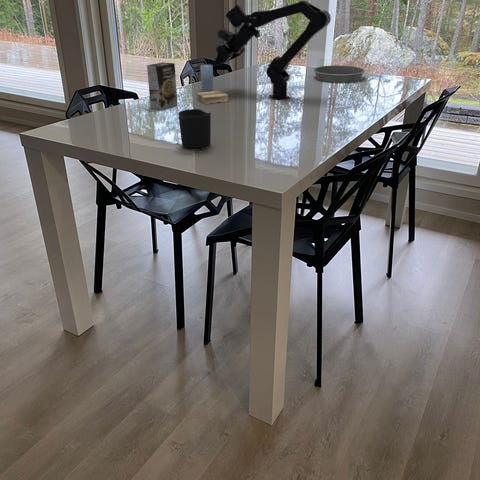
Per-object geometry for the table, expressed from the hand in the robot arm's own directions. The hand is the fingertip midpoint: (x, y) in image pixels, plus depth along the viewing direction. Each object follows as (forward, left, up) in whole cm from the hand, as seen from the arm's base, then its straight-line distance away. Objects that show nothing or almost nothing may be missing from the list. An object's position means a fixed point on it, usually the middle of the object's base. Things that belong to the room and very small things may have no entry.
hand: (218, 64), depth 205 cm
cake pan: (+3, -64, -12) cm, 65 cm away
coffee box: (-14, +29, -12) cm, 34 cm away
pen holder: (-65, +34, -12) cm, 74 cm away
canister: (+4, +4, -12) cm, 13 cm away
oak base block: (-12, +8, -12) cm, 19 cm away
